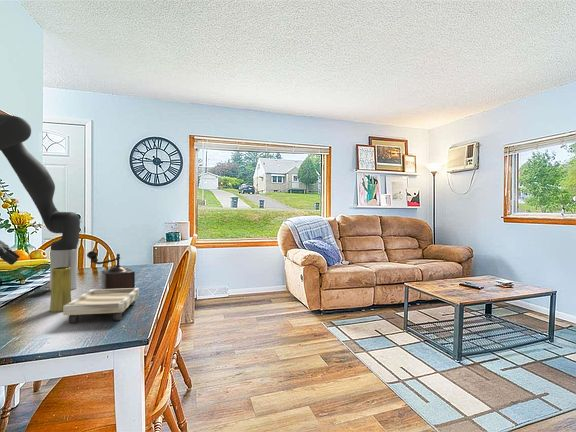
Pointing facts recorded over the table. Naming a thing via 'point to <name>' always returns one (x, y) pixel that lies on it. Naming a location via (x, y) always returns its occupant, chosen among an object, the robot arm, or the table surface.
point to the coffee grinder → (114, 274)
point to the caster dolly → (101, 303)
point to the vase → (60, 288)
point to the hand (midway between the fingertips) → (16, 260)
